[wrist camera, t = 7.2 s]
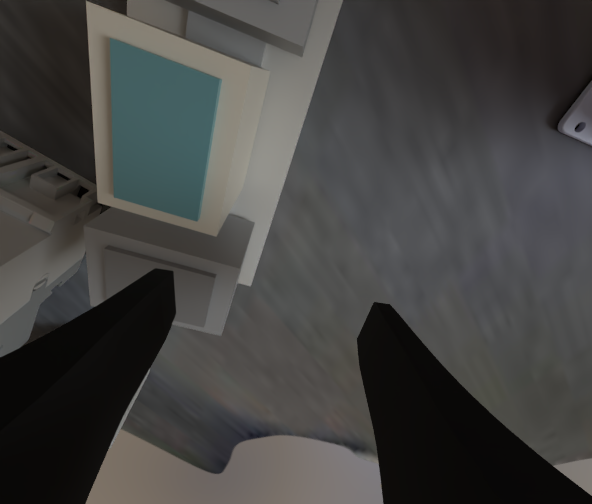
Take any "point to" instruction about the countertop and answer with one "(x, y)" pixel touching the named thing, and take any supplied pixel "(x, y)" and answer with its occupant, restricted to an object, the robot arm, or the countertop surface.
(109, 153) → the block
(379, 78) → the countertop surface
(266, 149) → the rail board
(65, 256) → the circuit breaker
